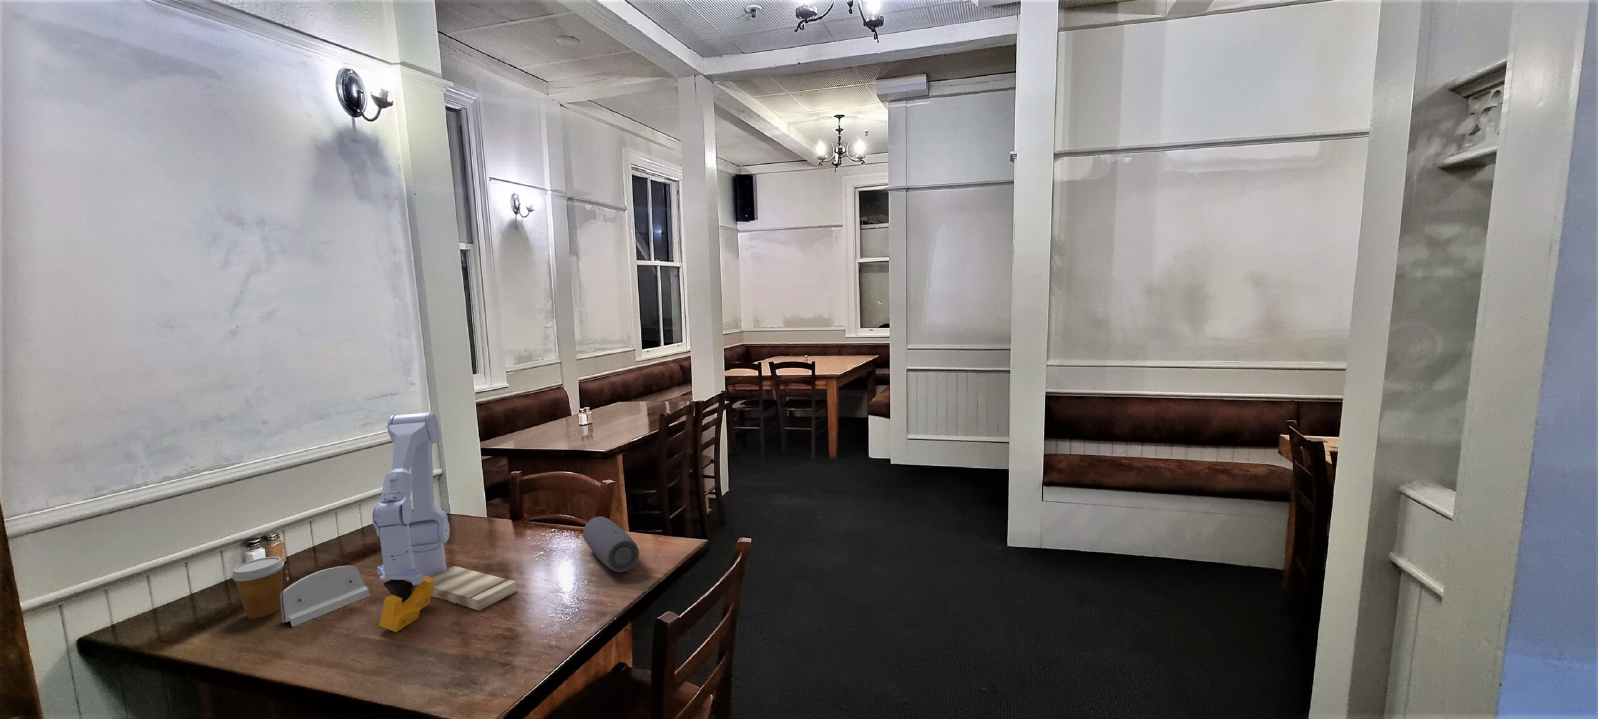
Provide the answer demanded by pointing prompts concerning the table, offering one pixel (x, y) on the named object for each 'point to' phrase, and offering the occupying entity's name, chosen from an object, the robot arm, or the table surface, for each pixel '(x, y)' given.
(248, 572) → the disposable coffee cup
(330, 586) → the gray arched bracket
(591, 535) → the bluetooth speaker
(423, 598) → the pipe clamp
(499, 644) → the table surface
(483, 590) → the maple board
